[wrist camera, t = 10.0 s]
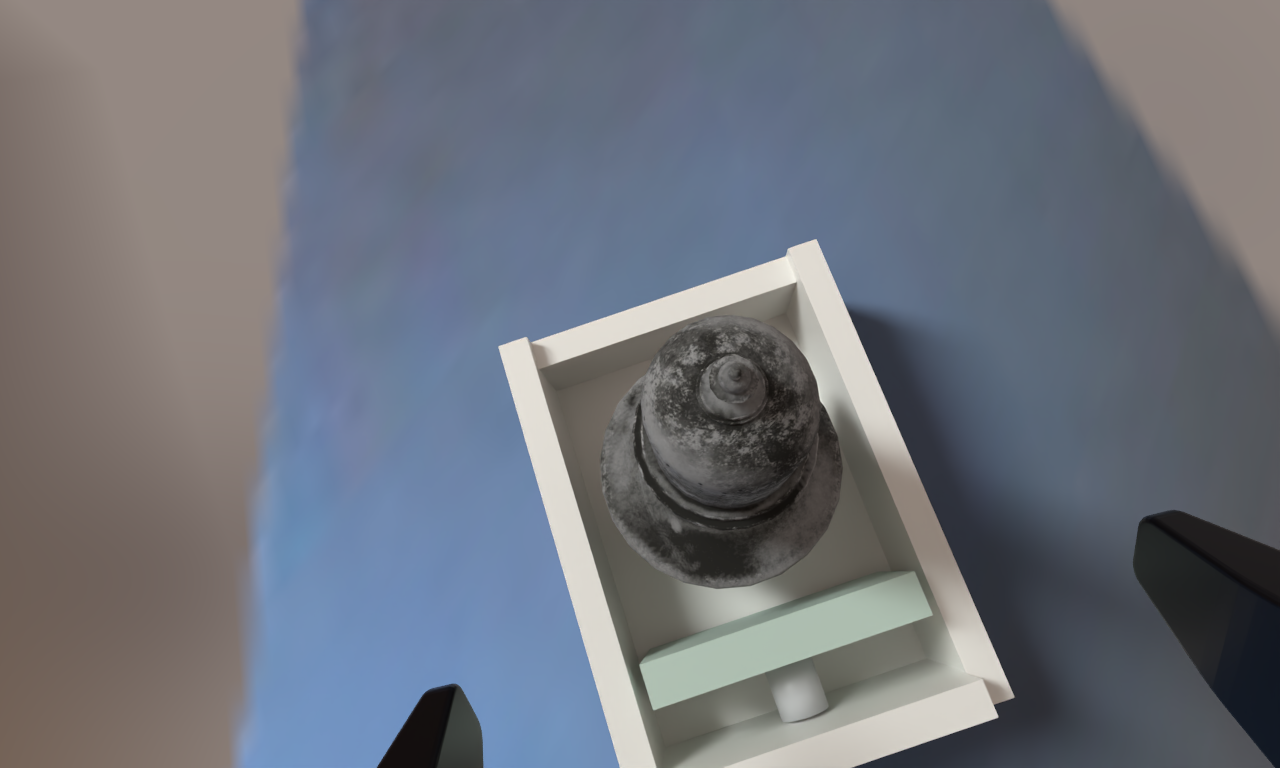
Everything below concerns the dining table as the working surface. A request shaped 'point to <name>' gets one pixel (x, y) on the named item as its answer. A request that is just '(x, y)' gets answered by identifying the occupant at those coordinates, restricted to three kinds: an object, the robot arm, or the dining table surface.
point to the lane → (850, 548)
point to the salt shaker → (722, 456)
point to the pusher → (782, 635)
